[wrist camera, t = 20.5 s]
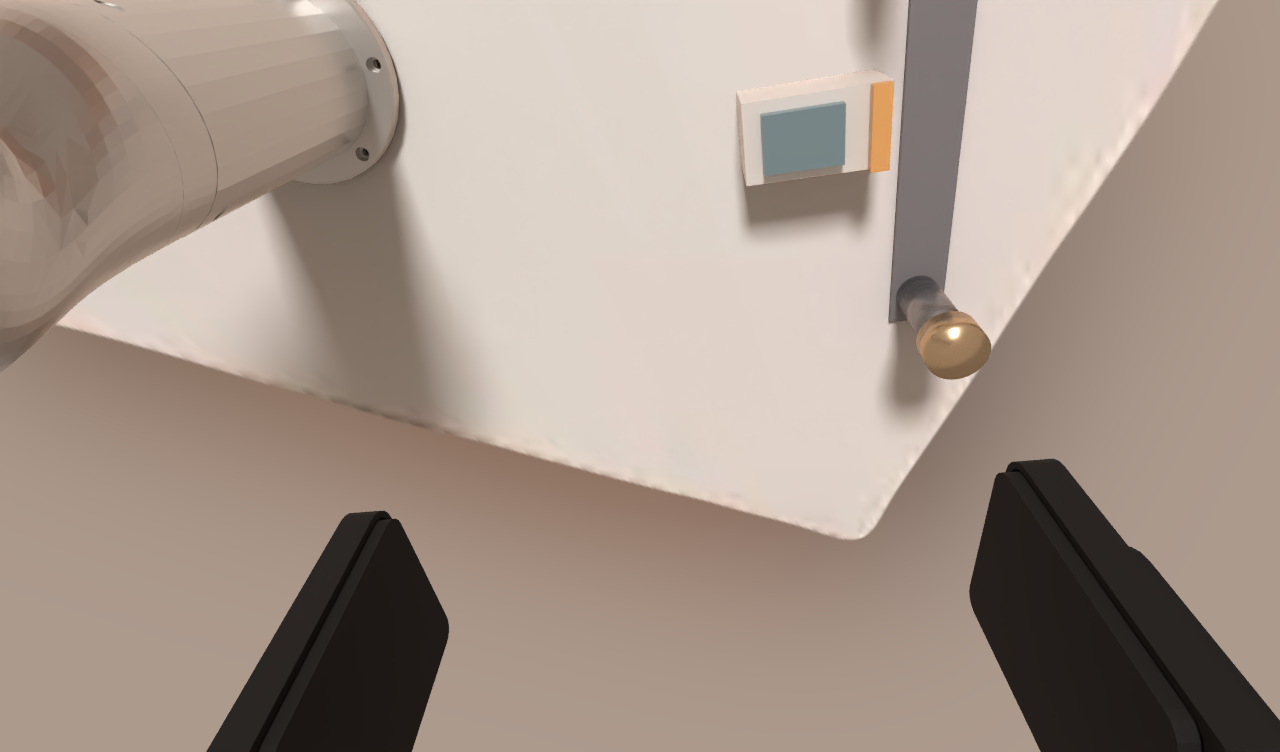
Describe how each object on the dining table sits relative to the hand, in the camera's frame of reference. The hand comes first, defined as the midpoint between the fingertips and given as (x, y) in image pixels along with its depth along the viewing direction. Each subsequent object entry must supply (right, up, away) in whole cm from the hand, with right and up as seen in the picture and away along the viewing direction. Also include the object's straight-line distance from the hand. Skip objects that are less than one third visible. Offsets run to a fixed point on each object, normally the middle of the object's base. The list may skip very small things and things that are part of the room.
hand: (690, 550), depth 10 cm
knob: (+19, +8, +33) cm, 39 cm away
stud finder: (+9, +19, +28) cm, 35 cm away
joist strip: (+17, +17, +28) cm, 37 cm away
